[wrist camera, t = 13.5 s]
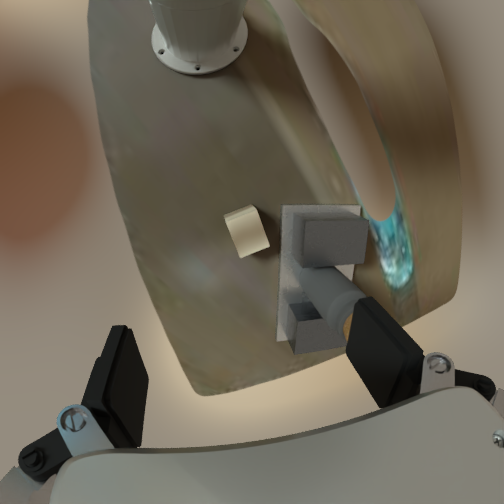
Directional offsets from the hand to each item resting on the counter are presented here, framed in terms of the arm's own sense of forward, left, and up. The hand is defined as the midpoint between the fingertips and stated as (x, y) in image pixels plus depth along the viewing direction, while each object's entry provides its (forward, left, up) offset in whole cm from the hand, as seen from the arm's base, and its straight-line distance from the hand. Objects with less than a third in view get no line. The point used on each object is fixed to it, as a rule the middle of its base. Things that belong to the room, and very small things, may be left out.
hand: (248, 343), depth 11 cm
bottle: (+10, +14, -27) cm, 32 cm away
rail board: (+11, +15, -28) cm, 33 cm away
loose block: (+3, +4, -28) cm, 28 cm away
